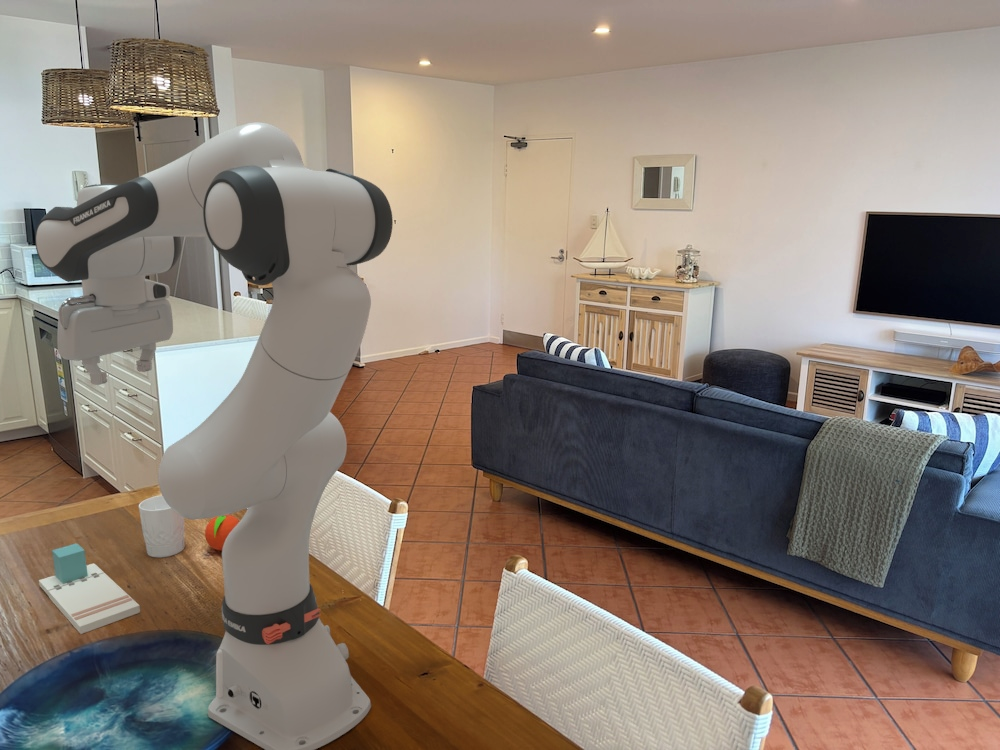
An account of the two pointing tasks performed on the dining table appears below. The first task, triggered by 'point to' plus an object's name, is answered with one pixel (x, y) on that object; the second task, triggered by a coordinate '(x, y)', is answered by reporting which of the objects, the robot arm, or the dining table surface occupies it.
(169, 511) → the white cup
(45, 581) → the stub
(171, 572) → the dining table surface
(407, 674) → the dining table surface
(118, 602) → the ticket
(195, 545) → the dining table surface
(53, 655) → the dining table surface
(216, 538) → the clementine
